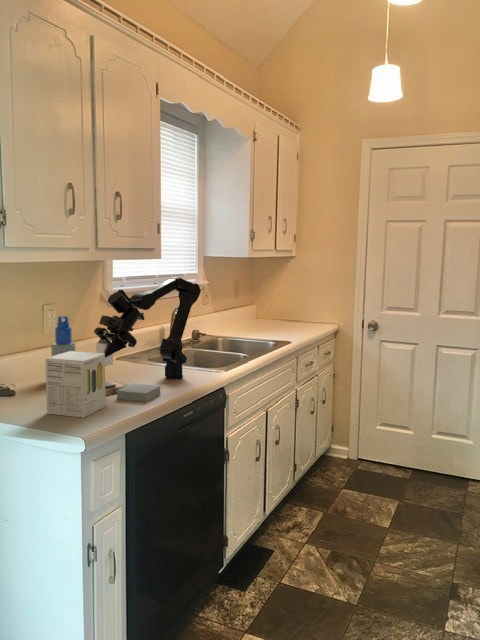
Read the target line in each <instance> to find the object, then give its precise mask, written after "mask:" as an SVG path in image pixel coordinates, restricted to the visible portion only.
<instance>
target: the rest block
mask: <svg viewBox="0 0 480 640" xmlns="http://www.w3.org/2000/svg"><path fill="white" fill-rule="evenodd" d="M160 395H161V385H157V384H143V383H133V382H132V383H130V384H128V386H125V387H123V388H121V389H119V390H117V393H116V400H121V401H132V402H142V403H147V402H149V401H151V400H153V399H155V398H156V397H158V396H160Z"/></svg>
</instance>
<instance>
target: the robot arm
mask: <svg viewBox="0 0 480 640" xmlns="http://www.w3.org/2000/svg"><path fill="white" fill-rule="evenodd" d="M173 291H177V292H178V294H177V295H178V300H179V304H178V308H177V310H176V313H175V317H174V319H173V322H172V325H171V329H170V332H169V336H167V338H162V340H161V344H160V346H159V349H160V350H159V354H160V356H161V358H162V361H163V362H164V363H165V362H166V364H165V365H164V377H165V379H167V380H174V379H175V380H182V379H183V377H184V374H183V365H184V364H186V363H187V359H188V358H187V356H186V355H185V354H184V353H183V349H184V348H183V347H184V346H183V342H182V338H183V336H184V332H185V330H186V329H185V328H186V325H187V322H188V319H189V316H190V312H191V309H192V306H193V305H194V304H195V303H196V302H197V301H198V299H199V297H200V295H201V292H202V289H201V287H200V285H199V284H198V283H196V282H195V283H194V282H191V281H189V280H186V279H184V278H182V277H179V276H171V277H170V278H169V279H167V280H165V281H163V282H162V283H160V284H158V285H156V286H154V287H153V288H150V289H149V290H148V289H147V290H145V291H140V292H137V293H134V294H133V295H131V297H130V296H128V294H126V292H125V291H124V290H123V289H118V290H117V291H115V292H114V293H112V294H110V295H109V296H108V298H107V303H108V304H109V306H111V307H112V309H114V311H116V313H117V314H120V316H117V315H113V316H109V315H101V317H100V320H99V322H98V324H99V325H101V326H102V325H103V326H105V327H101V326H98V327H96V328H94V330H93V333H94V334H95V335H96V336H97V337H98V338H99V340H109V341H110V342H111V344H110V346H109V347H108V349H107V350H106V352H105V357H108V356H110V355H111V354H113V355H114V354H115V353H117V352H119V351H121V350H123V349H126V348H127V346H128V347H129V348H135V346H136V345H137V339H136V338H135V336H133V334H132V333H131V332H133V331H134V328H133V327H134V326H135V324H136V323H137V321H138V320H139V321H144V320H145V315H144V312H141V311H149V310H150V309H151V308H152V307H153V306H154V305H156V302H157V301H158V300H159V299H161V298H163V297H165V296H166V295H168V294H169V293H171V292H173ZM140 310H141V311H140ZM127 344H128V345H127Z"/></svg>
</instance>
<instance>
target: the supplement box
mask: <svg viewBox="0 0 480 640" xmlns="http://www.w3.org/2000/svg"><path fill="white" fill-rule="evenodd" d="M105 382H106V366H105V354H104V353H96V352H88V351H87V352H86V351H77V350H76V351H69V352H65V353H62V354H58V355H55V356H52V355H51V356H49V357H46V358H45V388H46V391H45V392H46V395H45V397H46V414H49V415H57V416H64V417H65V416H66V417H67V416H68V417H76V418H83V419H85V417H88V416H90V415H92V414H93V413H95V412H97V411H100V410H101V409H103V408H105V407H106V396H105Z"/></svg>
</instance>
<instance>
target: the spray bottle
mask: <svg viewBox="0 0 480 640" xmlns="http://www.w3.org/2000/svg"><path fill="white" fill-rule="evenodd" d="M54 333H55V334H54V336H55V341H54V342H53V343H51V346H50V347H51V350H50V351H51V357H52V356H55V355H58V354H62V353H65V352H69V351H77V345H76V342H74V341H72V339H73V337H72V334H73V333H72V327H71V326H70V322H69V316H68V315H65V316H60V315H58V316H57V323H56V327H54Z"/></svg>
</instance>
